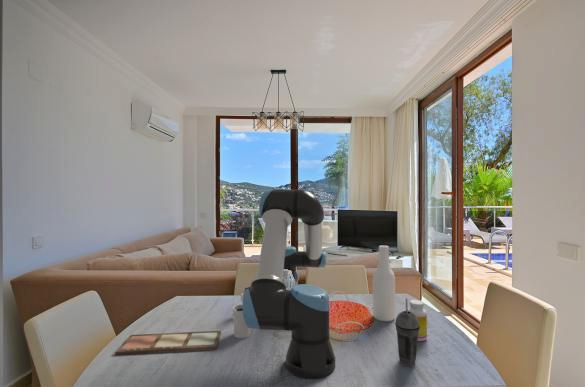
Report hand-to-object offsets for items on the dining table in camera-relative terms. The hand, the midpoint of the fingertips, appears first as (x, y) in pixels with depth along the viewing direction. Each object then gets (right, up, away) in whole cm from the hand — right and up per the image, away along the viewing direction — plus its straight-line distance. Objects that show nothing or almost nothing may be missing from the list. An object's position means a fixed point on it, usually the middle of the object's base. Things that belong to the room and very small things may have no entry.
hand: (255, 300), depth 124 cm
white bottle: (+53, -9, +6) cm, 54 cm away
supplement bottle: (+60, -10, -12) cm, 62 cm away
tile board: (-27, -10, -16) cm, 33 cm away
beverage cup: (+50, -10, -28) cm, 58 cm away
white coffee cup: (-4, -10, -9) cm, 14 cm away
